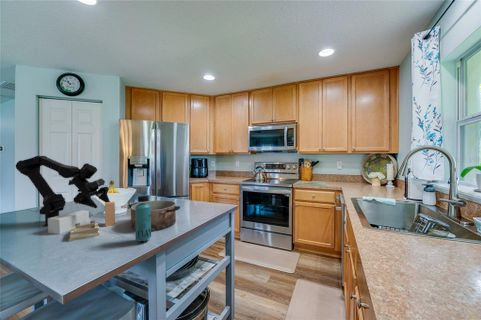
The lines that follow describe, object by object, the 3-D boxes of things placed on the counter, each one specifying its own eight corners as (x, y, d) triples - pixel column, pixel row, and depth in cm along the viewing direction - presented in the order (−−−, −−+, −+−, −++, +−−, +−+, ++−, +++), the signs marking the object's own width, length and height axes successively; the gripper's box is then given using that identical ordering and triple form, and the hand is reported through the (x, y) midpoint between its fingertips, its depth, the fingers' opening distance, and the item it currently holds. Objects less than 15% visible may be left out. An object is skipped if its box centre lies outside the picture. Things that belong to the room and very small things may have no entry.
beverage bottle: (135, 246, 83) (134, 198, 83) (135, 239, 89) (134, 195, 89) (152, 242, 86) (151, 196, 86) (151, 237, 92) (150, 194, 92)
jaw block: (105, 224, 109) (104, 202, 108) (114, 222, 111) (114, 201, 111) (105, 226, 105) (105, 204, 105) (115, 225, 108) (114, 202, 107)
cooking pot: (115, 228, 103) (114, 207, 103) (147, 215, 125) (147, 198, 124) (163, 235, 94) (163, 213, 94) (189, 220, 115) (189, 202, 115)
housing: (71, 231, 99) (71, 223, 99) (98, 226, 105) (98, 219, 105) (68, 241, 87) (68, 232, 87) (99, 235, 94) (99, 227, 94)
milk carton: (59, 219, 95) (95, 208, 114) (47, 218, 96) (85, 208, 115) (59, 234, 95) (95, 221, 114) (47, 233, 97) (85, 220, 115)
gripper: (78, 176, 98) (100, 198, 98) (105, 172, 117) (124, 191, 117) (63, 192, 99) (85, 214, 99) (93, 186, 118) (111, 204, 118)
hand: (103, 205), depth 108 cm, fingers open, 9 cm apart
